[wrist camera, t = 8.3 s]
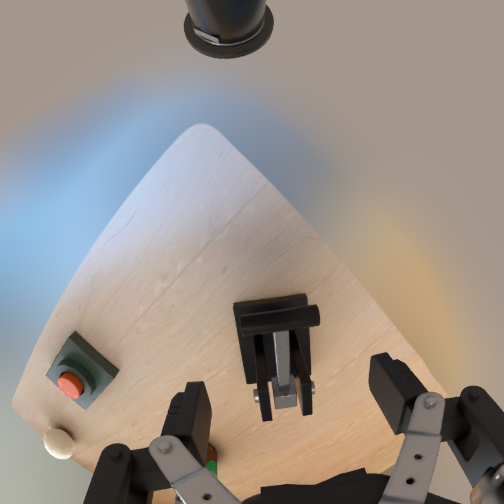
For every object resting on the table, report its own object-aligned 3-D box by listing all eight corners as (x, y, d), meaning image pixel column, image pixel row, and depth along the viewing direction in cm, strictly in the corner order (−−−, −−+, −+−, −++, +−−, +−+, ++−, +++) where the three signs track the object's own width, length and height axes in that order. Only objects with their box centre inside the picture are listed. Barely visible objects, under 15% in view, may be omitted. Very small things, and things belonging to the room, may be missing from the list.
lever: (239, 306, 21) (240, 331, 19) (314, 296, 21) (322, 319, 19) (257, 392, 28) (259, 411, 26) (308, 384, 28) (312, 403, 26)
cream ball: (48, 417, 41) (34, 436, 35) (76, 432, 42) (64, 453, 35) (52, 434, 42) (40, 453, 36) (79, 448, 43) (69, 468, 37)
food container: (210, 474, 44) (207, 513, 34) (181, 465, 43) (173, 504, 33) (233, 443, 42) (232, 488, 32) (199, 433, 41) (192, 478, 31)
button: (67, 367, 34) (61, 373, 32) (87, 385, 35) (82, 391, 33) (59, 379, 34) (54, 385, 33) (78, 396, 35) (74, 402, 33)
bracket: (233, 303, 36) (228, 359, 23) (305, 293, 36) (333, 344, 23) (246, 379, 38) (247, 445, 26) (309, 370, 38) (330, 433, 26)
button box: (75, 330, 36) (62, 342, 33) (119, 370, 38) (110, 385, 34) (51, 369, 38) (40, 381, 34) (90, 402, 40) (81, 416, 36)
